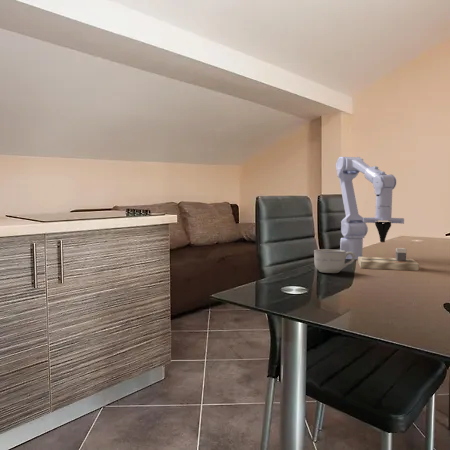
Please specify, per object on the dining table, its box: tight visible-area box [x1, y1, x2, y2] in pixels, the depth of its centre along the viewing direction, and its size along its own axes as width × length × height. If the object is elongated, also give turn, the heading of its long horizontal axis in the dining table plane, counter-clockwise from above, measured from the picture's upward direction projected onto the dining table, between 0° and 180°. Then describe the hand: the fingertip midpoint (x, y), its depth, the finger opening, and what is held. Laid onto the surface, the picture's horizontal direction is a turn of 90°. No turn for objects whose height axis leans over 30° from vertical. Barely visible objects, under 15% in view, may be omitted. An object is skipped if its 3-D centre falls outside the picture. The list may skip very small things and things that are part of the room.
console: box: [357, 256, 420, 271], centre depth 154 cm, size 20×12×3 cm, turn 76°
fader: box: [395, 247, 407, 261], centre depth 152 cm, size 3×4×4 cm
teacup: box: [313, 248, 356, 274], centre depth 142 cm, size 14×11×8 cm
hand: (382, 241), depth 154 cm, fingers closed
